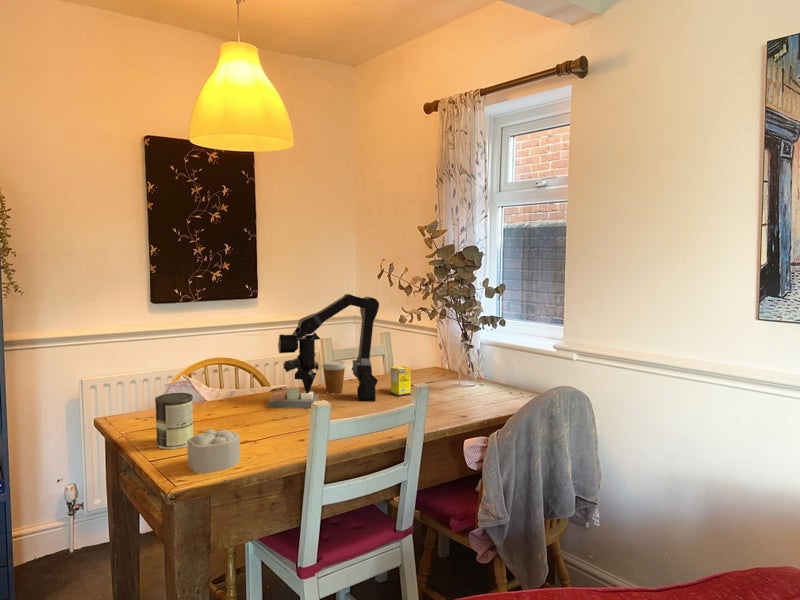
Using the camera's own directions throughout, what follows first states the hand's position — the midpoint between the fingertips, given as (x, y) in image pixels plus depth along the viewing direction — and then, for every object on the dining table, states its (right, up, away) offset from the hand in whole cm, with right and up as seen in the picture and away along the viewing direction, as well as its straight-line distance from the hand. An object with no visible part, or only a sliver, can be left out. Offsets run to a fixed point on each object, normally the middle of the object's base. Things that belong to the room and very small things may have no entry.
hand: (307, 393), depth 211 cm
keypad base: (-5, -4, 0) cm, 7 cm away
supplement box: (+35, -3, +16) cm, 39 cm away
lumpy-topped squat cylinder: (-15, -10, -60) cm, 62 cm away
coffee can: (-32, -8, -44) cm, 55 cm away
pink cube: (-10, -4, 0) cm, 11 cm away
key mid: (-5, -2, 0) cm, 6 cm away
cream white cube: (0, -4, 0) cm, 4 cm away
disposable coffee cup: (+8, -3, +19) cm, 21 cm away
